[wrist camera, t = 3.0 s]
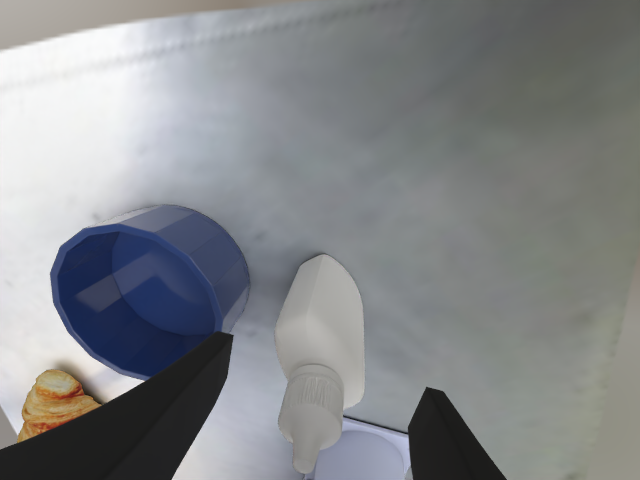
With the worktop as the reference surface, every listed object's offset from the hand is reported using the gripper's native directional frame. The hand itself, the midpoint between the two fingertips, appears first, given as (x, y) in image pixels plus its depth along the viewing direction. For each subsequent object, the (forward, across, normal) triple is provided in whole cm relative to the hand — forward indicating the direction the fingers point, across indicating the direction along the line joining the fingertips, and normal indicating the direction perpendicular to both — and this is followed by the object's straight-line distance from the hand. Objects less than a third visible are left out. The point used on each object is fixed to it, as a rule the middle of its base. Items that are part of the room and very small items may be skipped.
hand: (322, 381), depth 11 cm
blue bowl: (+10, +11, +4) cm, 15 cm away
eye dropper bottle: (+10, 0, +2) cm, 10 cm away
